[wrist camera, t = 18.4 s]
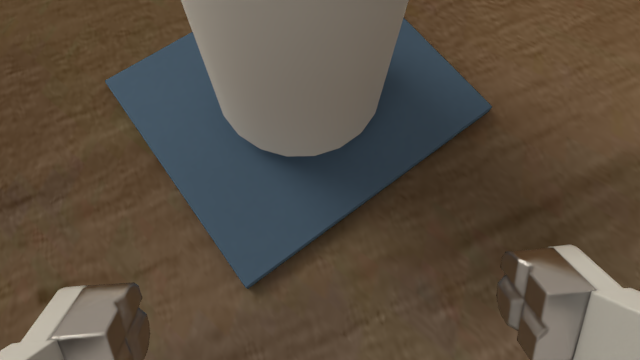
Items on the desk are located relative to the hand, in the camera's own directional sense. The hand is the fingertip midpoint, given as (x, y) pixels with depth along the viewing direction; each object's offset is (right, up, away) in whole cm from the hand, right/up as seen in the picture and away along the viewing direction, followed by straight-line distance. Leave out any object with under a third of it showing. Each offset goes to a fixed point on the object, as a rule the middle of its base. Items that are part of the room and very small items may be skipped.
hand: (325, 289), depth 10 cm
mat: (-1, +6, +11) cm, 13 cm away
